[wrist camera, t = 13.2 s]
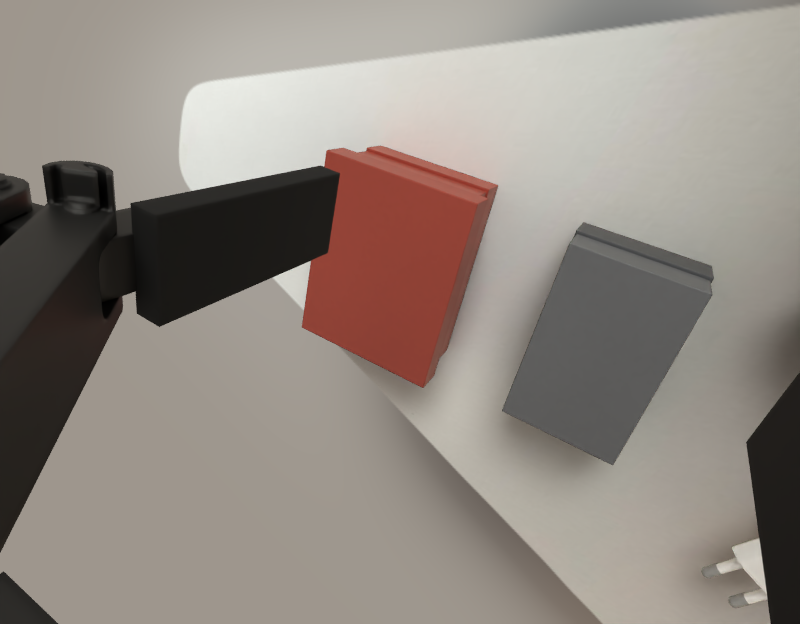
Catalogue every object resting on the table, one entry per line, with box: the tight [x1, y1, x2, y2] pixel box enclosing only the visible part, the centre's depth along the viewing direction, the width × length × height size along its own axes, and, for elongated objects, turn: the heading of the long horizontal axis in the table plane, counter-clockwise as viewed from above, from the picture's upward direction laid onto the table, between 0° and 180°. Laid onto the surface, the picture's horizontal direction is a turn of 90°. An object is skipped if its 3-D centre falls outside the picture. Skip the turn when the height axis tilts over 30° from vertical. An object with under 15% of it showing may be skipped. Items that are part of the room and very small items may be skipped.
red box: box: [359, 146, 498, 357], centre depth 38 cm, size 14×10×4 cm
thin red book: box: [302, 148, 488, 388], centre depth 36 cm, size 14×11×2 cm
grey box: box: [502, 223, 714, 465], centre depth 33 cm, size 13×8×5 cm, turn 167°
